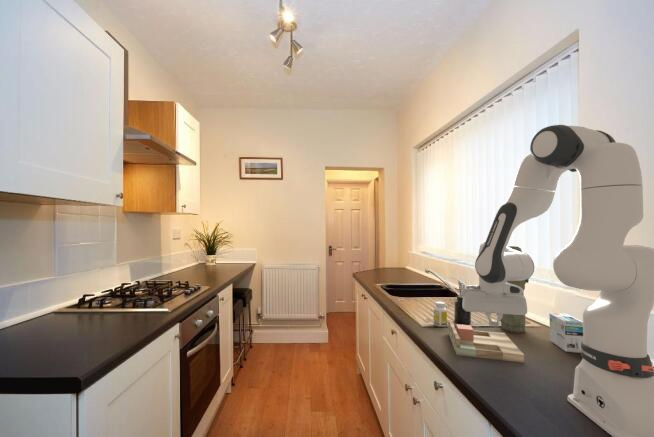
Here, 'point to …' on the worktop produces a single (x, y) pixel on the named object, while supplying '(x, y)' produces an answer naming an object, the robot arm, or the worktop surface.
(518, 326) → the thermos
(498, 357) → the board
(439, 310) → the supplement bottle
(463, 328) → the block
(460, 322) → the supplement bottle
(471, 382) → the worktop surface
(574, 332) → the light bulb box
